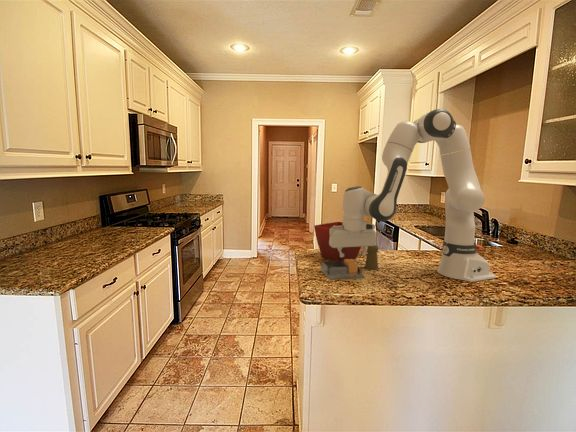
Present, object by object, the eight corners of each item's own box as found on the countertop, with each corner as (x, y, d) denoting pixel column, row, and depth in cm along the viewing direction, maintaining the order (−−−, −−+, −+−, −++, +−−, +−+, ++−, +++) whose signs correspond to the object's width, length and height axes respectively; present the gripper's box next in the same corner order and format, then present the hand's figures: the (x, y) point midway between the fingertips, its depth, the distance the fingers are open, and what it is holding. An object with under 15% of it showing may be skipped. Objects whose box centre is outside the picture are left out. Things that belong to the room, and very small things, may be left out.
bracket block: (352, 267, 133) (352, 258, 132) (357, 272, 127) (357, 263, 126) (343, 267, 132) (344, 259, 131) (348, 272, 126) (348, 263, 126)
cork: (380, 267, 138) (381, 244, 136) (374, 270, 133) (375, 246, 132) (368, 264, 142) (369, 242, 140) (362, 267, 137) (363, 244, 136)
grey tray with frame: (352, 268, 137) (352, 258, 136) (363, 278, 124) (364, 267, 123) (320, 269, 134) (321, 259, 134) (329, 279, 122) (329, 269, 121)
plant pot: (312, 256, 154) (313, 224, 152) (337, 251, 166) (338, 221, 163) (340, 266, 139) (341, 231, 137) (365, 259, 151) (367, 226, 149)
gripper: (331, 227, 122) (331, 260, 124) (378, 225, 125) (377, 257, 127) (327, 224, 128) (327, 255, 130) (372, 222, 131) (371, 253, 133)
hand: (352, 256), depth 128 cm, fingers open, 8 cm apart
